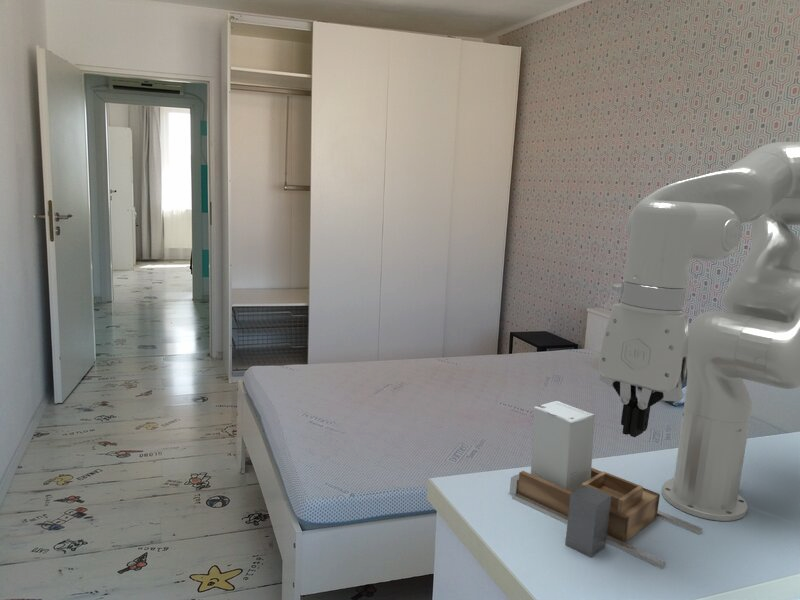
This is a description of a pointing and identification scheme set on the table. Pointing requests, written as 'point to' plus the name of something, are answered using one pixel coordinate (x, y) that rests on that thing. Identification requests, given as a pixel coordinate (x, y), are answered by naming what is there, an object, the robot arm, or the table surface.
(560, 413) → the skincare box
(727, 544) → the table surface
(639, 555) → the rail
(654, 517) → the cradle
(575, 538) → the gray rectangular block
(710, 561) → the table surface
